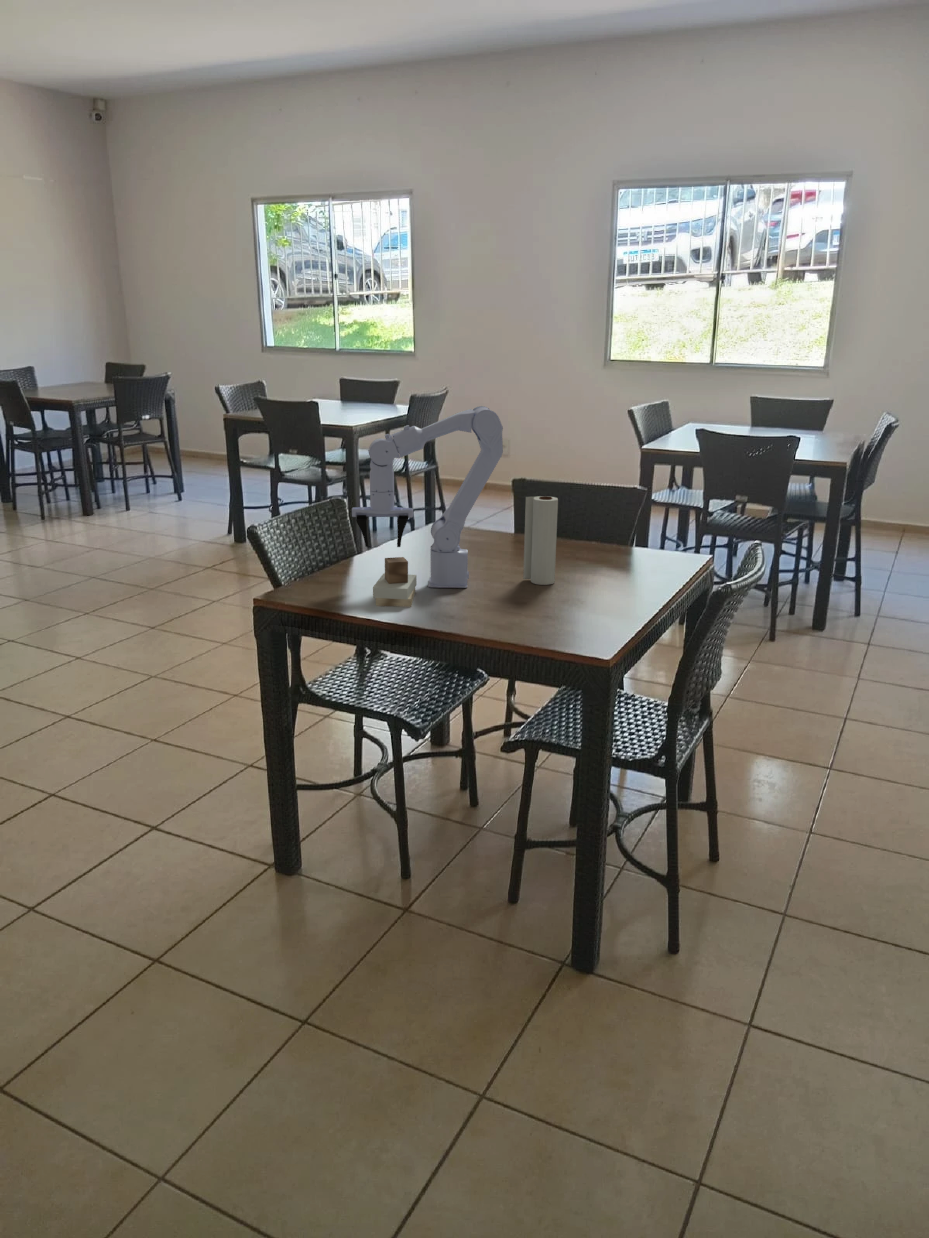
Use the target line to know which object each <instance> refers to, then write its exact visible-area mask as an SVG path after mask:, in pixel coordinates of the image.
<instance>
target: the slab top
mask: <svg viewBox="0 0 929 1238" xmlns="http://www.w3.org/2000/svg"><path fill="white" fill-rule="evenodd" d="M417 585H418V584H417V574H408V583H392V584H389V583H388V582H387V581H386V580H385V572H384V573H382V575H381V576H380V577H379V578H378V580H377V581H376V583H375V584H374V585H373V587H372V599H376V598H389V599H408V598H409V596H410V595H411V593H412V592H413V590H414V588H415V589H416V586H417Z"/></svg>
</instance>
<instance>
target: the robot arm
mask: <svg viewBox="0 0 929 1238" xmlns="http://www.w3.org/2000/svg"><path fill="white" fill-rule="evenodd" d="M503 429H504V428H503V424H502V422H501V420H500V416H499V415H498V413H496V412H495V411H494V410H491V409H490V408H489V407H487V406H483V405H481V406H477V407H474V408H473V409H472V408H469V409H466V410H462V411H459V412H457V413H455V414H452V415H450V416H447V417H445V418H442V419H441V420H437V421H435V422H434V423H431V424H430V425H427V426H424V427H422V428H420V427H418V426H416V425H412V426H410V425H408V424H407V425H405V426H403V429H402V430H400V431H396V432H394V433H392V434H389V433H386V434H385V435H384V438H382V437H381V438H376V439H374V440H372V442H371V443H370V445H369V446H368V447H369V448H368V450H367V451H368V452H367V453H368V455H369V457H370V463H369V468H370V470H369V495H370V496H369V497H370V504H369V505H370V506H364V507H363V506H361V507H358V506H357V507H356V506H355V507H352V508H351V517H352V518H355V521H356V523H357V525H358V527H359V530H360V532H361V533H362V536H363V541H364V545H365V548H368V547H369V546H370V536H369V535H370V534H369V517H371V518H372V517H374V518H375V517H377V518H378V517H381V518H382V517H385V518H386V517H387V518H393V517H394V518H397V519H396V523H397V524H396V525H397V541H396V542H397V543H396V548H401V546H402V538H403V534H404V531H405V528H406V526H407V524H408V521H409V519H411V518H413V517H414V508H413V507H398V506H395V471H394V469H393V468H394V467H393V464H394V463H393V461H394V460H395V459H400V458H402V457H405V456H408V455H411V454H413V453H416V452H418V451H420V450H422V449H424V447H425V445H426V443H427V442H429V441H431V440H434V439H438V438H440V437H442V436H445V435H448V434H452V433H454V432H456V431H457V432H458V431H460V432H466V433H472V432H473V433H474V435H475V437H477V438H476V439H477V441H478V442H477V443H478V446H479V449H480V452H479V453H478V455H477V457H476V458H475V460H474V462H473V464H472V465H471V467H470V469H469V471H468V472H467V474H466V476H465V477H464V480H463V481H462V483H461V485H460V487H459V488H458V490H457V492H456V494H455V496H454V497H453V499H452V501H451V503H450V505H449V506H448V508H446V509H445V510H444V511H443V512H442V513H443V514H442V515H441V516H440V517H439V518H438V519H436V520H435V521H434V522H433V523H432V525H431V527H430V534H431V537H432V539H433V543H432V545H430V576H429V580H428V583H427V584H428V588H441V589H442V588H446V589H447V588H451V589H452V588H453V589H456V588H458V589H465V588H468V579H470V576H469V575H470V571H469V569H468V561H469V560H468V558H469V557H468V556H469V555H468V554H469V552H468V551H469V550H468V549H467V548H466V549H464V548H461V546H460V541H461V534H462V531H463V530H464V527H465V523H466V519H467V518H468V516H469V514H470V512H471V510H472V508H473V507H474V505H475V503H476V502H477V500H478V498H479V496H480V495H481V493H482V491H483V490H484V488H485V485H486V484H487V482H488V481H489V479H490V477H491V476H492V474H493V472H494V470H495V468H496V467H497V465H498V463H499V461H500V460H501V458H502V456H503V454H504V453H503V452H504V445H503V443H504V441H503Z"/></svg>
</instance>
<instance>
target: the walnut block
mask: <svg viewBox="0 0 929 1238" xmlns="http://www.w3.org/2000/svg"><path fill="white" fill-rule="evenodd" d="M384 573H385V580H386V581H387V582H388V583H389V584H392V583H408V575H409V561H408V560H407V558H405V557H404V556H398V557H397V556H396V557H384Z"/></svg>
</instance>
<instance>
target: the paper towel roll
mask: <svg viewBox="0 0 929 1238" xmlns="http://www.w3.org/2000/svg"><path fill="white" fill-rule="evenodd" d="M558 498H559V497H556V496H546V495H545V496H541V495H539V496H538V495H537V496H525V507H524V508H525V510H524V511H525V513H524V516H525V517H524V542H523V543H524V545H523V546H524V547H523V548H524V549H523V573H522V574H523V576H522V577H523V580H530V582H531V583H532V584H533V585H540V586H546V585H547V586H548V585H552V584H553V585H554V583H555V580H556V579H555V578H556V559H557V558H556V556H557V555H556V554H557V535H558V534H557V531H558V530H557V529H558V511H559V510H558V509H559V499H558Z"/></svg>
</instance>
